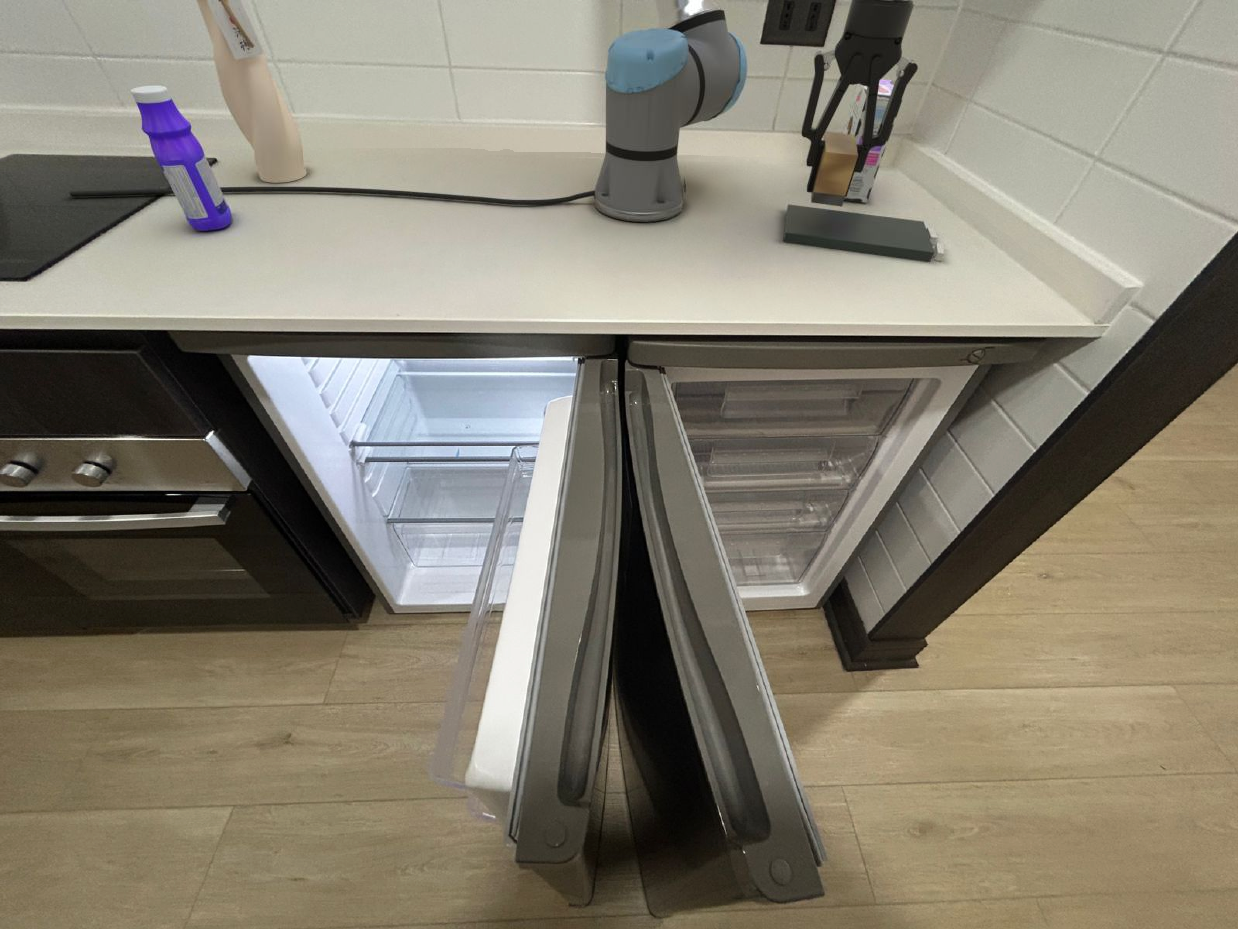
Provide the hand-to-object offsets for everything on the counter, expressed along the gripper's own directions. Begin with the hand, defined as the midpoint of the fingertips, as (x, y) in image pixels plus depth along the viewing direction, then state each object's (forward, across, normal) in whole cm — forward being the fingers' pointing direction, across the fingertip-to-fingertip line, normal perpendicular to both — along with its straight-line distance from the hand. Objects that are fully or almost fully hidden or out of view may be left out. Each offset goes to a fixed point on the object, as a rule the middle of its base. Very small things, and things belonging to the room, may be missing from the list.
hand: (826, 190), depth 86 cm
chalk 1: (+5, +18, +3) cm, 19 cm away
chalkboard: (+6, +6, 0) cm, 9 cm away
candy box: (+6, +6, +22) cm, 24 cm away
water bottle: (+7, -93, -7) cm, 93 cm away
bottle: (+7, -90, -28) cm, 94 cm away
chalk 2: (+5, +18, -3) cm, 19 cm away
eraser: (0, 0, 0) cm, 0 cm away
